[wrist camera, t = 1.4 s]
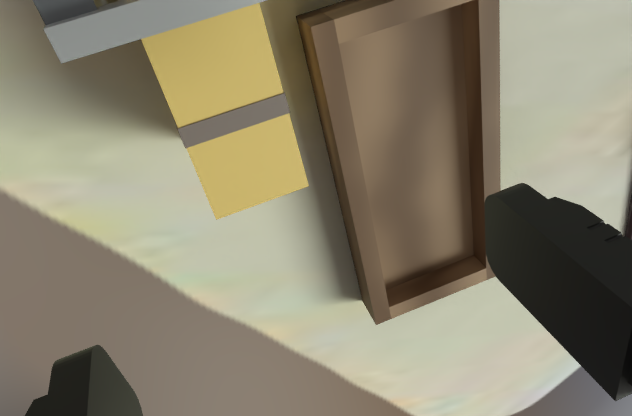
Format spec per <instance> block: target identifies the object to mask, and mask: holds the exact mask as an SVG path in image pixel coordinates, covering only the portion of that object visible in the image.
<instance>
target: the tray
mask: <svg viewBox="0 0 632 416" xmlns="http://www.w3.org/2000/svg"><path fill="white" fill-rule="evenodd" d="M296 18H297V22H298V26H299V31H300V35H301V39H302V43H303V48H304V52H305V56H306V61H307V65H308V69H309V73H310V78H311V82H312V86H313V91H314V95H315V99H316V104H317V108H318V112H319V116H320V121H321V125H322V129H323V134H324V138H325V142H326V146H327V151H328V155H329V159H330V164H331V168H332V172H333V176H334V181H335V185H336V189H337V194H338V198H339V202H340V206H341V211H342V215H343V219H344V224H345V228H346V232H347V236H348V241H349V245H350V249H351V254H352V258H353V262H354V266H355V271H356V275H357V279H358V284H359V288H360V292H361V296H362V301H363V303H364V304H365V306H366V308H367V310H368V311H369V313H370V315H371V317H372V318H373V320H374V322H375V324H376V325H377V324H380V323H382V322H385V321H387V320H389V319H392V318H394V317H397V316H399V315H402V314H404V313H407V312H409V311H412V310H414V309H416V308H419V307H421V306H424V305H426V304H429V303H431V302H434V301H436V300H439V299H441V298H443V297H446V296H448V295H451V294H453V293H456V292H458V291H461V290H463V289H466V288H468V287H471V286H473V285H475V284H478V283H480V282H483V281H485V280H488V279H490V278H493V277H495V274H494V273H493V271H492V269H491V267H490V265H489V263H488V260H487V256H486V247H485V207H484V205H485V199H486V197H487V196H489V195H491V194H494V193H496V192H499V191H500V43H499V0H346V1H343V2H340V3H336V4H333V5H330V6H327V7H324V8H321V9H317V10H314V11H311V12H308V13H305V14H301V15H298V16H296Z"/></svg>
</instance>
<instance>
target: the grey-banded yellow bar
mask: <svg viewBox="0 0 632 416" xmlns="http://www.w3.org/2000/svg"><path fill="white" fill-rule="evenodd" d="M141 40H142V43H143V45H144V48H145V50H146V52H147V55H148V57H149V60H150V62H151V64H152V67H153V69H154V72H155V74H156V76H157V79H158V81H159V84H160V86H161V88H162V91H163V93H164V96H165V98H166V100H167V103H168V105H169V107H170V110H171V112H172V115H173V117H174V119H175V122H176V125H177V129H178V132H179V134H180V137H181V139H182V141H183V144H184V146H185V148H187V151H188V153H189V155H190V158H191V160H192V163H193V165H194V167H195V170H196V172H197V175H198V177H199V179H200V182H201V184H202V186H203V189H204V191H205V194H206V196H207V198H208V201H209V203H210V206H211V208H212V210H213V213H214V215H215V218H216V220H217V219H219V218H222V217H225V216H228V215H231V214H233V213H236V212H239V211H242V210H244V209H247V208H250V207H253V206H255V205H258V204H261V203H264V202H266V201H269V200H272V199H275V198H277V197H280V196H283V195H286V194H289V193H291V192H294V191H297V190H300V189H302V188H305V187H308V186H309V185H308V181H307V177H306V174H305V170H304V166H303V163H302V159H301V155H300V152H299V148H298V144H297V140H296V137H295V133H294V129H293V126H292V122H291V118H290V115H289V113H290V110H289V107H288V103H287V99H286V96H285V93H284V91H283V89H282V85H281V81H280V78H279V74H278V70H277V67H276V63H275V59H274V55H273V52H272V48H271V44H270V41H269V37H268V33H267V30H266V26H265V22H264V18H263V15H262V11H261V7H260V4H259V3H257V4H253V5H250V6H247V7H244V8H240V9H237V10H234V11H231V12H227V13H224V14H221V15H218V16H214V17H211V18H208V19H205V20H201V21H198V22H195V23H192V24H188V25H185V26H182V27H179V28H175V29H172V30H169V31H166V32H162V33H159V34H156V35H153V36H149V37H146V38H143V39H141Z"/></svg>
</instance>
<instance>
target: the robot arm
mask: <svg viewBox="0 0 632 416" xmlns="http://www.w3.org/2000/svg"><path fill="white" fill-rule="evenodd" d="M484 207H485V247H486V256H487V260H488V263H489V265H490V267H491V269H492V271H493V273H494V274H495V276H496V277H497V278H498V280H499V281H500V282H501V283H502V284H503V285H504V286H505V287H506V288H507V289H508V290H509V291H510V292H511V293H512V294H513V295H514V296H515V297H516V298H517V299H518V300H519V301H520V303H521V304H522V305H523V306H524V307H525V308H526V309H527V310H528V311H529V312H530V313H531V314H532V315H533V316H534V317H535V318H536V319H537V320H538V321H539V322H540V323H541V324H542V325H543V326H544V328H545V329H546V330H547V331H548V332H549V333H550V334H551V335H552V336H553V337H554V338H555V339H556V340H557V341H558V342H559V343H560V344H561V345H562V346H563V347H564V348H565V349H566V350H567V351H568V352H569V354H570V355H571V356H572V357H573V358H574V359H575V360H576V361H577V362H578V363H579V364H580V365H581V366H582V367H583V368H584V369H585V370H586V371H587V372H588V373H589V374H590V375H591V376H592V377H593V379H595V380H596V382H597V383H598V384H599V385H600V386H601V387H602V388H603V389H604V390H605V391H606V392H607V393H608V394H609V395H610V396H611V397H612V398H613V399H614V400H615V401H617V400H619V399H621V398H623V397H626V396H628V395H630V394H632V240H631V239H629V238H628V237H627V236H625V237H623V236H622V234H621V232H619V231H618V230H616V229H615V228H613V227H612V226H611V225H609V224H605V223H604V221H603V220H602V219H600V218H599V217H597V216H596V215H595V214H593V213H592V212H590V211H589V210H587V209H586V208H584V207H583V206H581V205H578V204H575V203H572V202H569V201H566V200H563V199H560V198H557V197H553V198H551V199H547V198H545V197H544V196H543V195H541V194H540V193H539V192H537V191H536V190H534V189H533V188H532V187H530V186H529V185H527V184H524V183H520V184H517V185H515V186H512V187H509V188H507V189H504V190H502V191H499V192H496V193H494V194H491V195H489V196H487V197H486V199H485V205H484ZM25 416H143V414H142V410H141V406H140V403H139V400H138V398H137V396H136V394H135V392H134V391H133V389H132V388H131V386H130V385H129V383H128V382H127V381H126V379H125V378H124V376H123V375H122V374H121V372H120V371H119V370H118V368H117V367H116V365H115V364H114V362H113V361H112V360H111V358H110V357H109V355H108V354H107V352H106V351H105V350H104V349H103V348H102V347H101V346H100V345H95V346H92V347H90V348H87V349H85V350H83V351H80V352H77V353H74V354H72V355H69V356H66V357H64V358H61V359H59V360H57V361H55V363H54V364H53V367H52V371H51V378H50V385H49V391H48V395H45V396H43V397H40V398H38V399H35V400H34V401H33V402H32V404H31V406H30V407H29V409H28V411H27V413H26V415H25Z"/></svg>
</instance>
